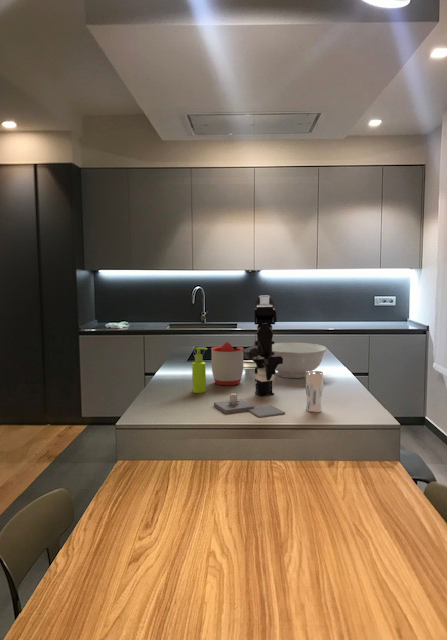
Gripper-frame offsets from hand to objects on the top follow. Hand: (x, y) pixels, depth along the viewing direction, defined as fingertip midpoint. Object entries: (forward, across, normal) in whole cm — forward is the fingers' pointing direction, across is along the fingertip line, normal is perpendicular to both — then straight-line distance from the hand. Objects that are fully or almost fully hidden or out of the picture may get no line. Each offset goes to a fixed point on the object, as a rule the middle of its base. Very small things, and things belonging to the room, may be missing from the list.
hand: (264, 378), depth 194 cm
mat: (+13, 0, 0) cm, 13 cm away
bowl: (+13, -52, +42) cm, 68 cm away
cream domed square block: (0, 0, 0) cm, 0 cm away
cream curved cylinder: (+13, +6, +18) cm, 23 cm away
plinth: (+13, -10, -9) cm, 19 cm away
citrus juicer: (+13, -50, +6) cm, 52 cm away
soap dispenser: (+13, -40, -12) cm, 44 cm away
